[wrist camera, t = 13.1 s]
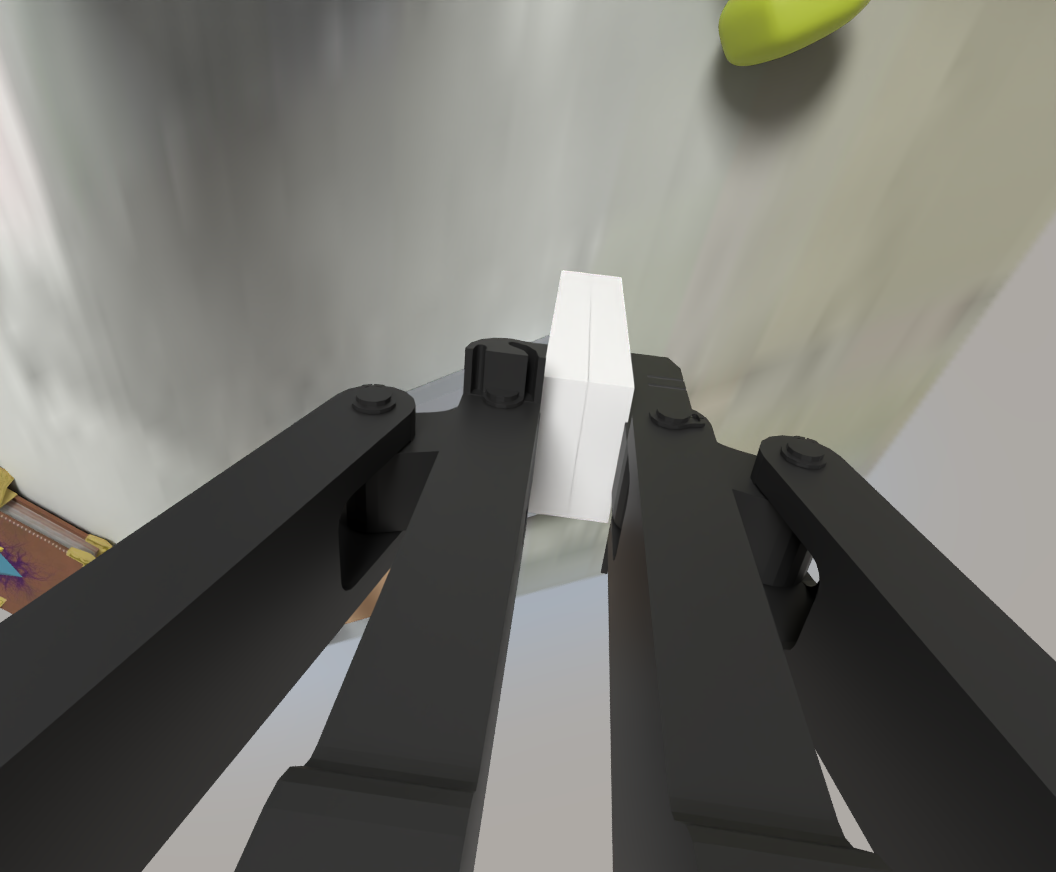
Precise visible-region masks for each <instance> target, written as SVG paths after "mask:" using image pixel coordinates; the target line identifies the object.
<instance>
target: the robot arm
mask: <svg viewBox="0 0 1056 872" xmlns="http://www.w3.org/2000/svg"><path fill="white" fill-rule="evenodd" d="M611 505H612V519H611V524H610V529H609V534H608V539H607V544H606V549H605V554H604V559H603V564H602V569H601V573H605V574H607V572H608V599H609V600H608V603H609V661H610V662H609V663H610V719H611V720H610V721H611V722H610V723H611V782H612V783H611V784H612V839H613V840H612V843H613V872H1056V661H1055V660H1054V659H1052V658H1051V657H1050V656H1049V655H1048V654H1047V653H1046V652H1045V651H1044V650H1043V649H1042V648H1041V647H1040V646H1039V645H1038V644H1037V643H1036V642H1035V641H1034V640H1032V639H1031V638H1030V637H1029V636H1028V635H1027V634H1026V633H1025V632H1024V631H1023V630H1022V629H1021V628H1020V627H1019V626H1018V625H1017V624H1016V623H1015V622H1013V620H1012V619H1011V618H1009V617H1008V616H1007V615H1006V614H1005V613H1004V612H1003V611H1002V610H1001V609H1000V608H999V607H998V606H997V605H996V604H994V602H993V601H991V600H990V599H989V597H987V596H986V595H985V594H984V593H983V592H982V591H981V590H980V589H979V588H978V587H977V586H976V585H975V584H974V583H973V582H972V581H971V580H969V578H967V577H966V576H965V575H964V574H963V573H962V572H961V571H960V570H959V569H958V568H957V567H956V566H955V565H954V564H953V563H952V562H951V561H950V560H949V559H948V558H946V557H945V556H944V555H943V554H942V553H941V552H940V551H939V550H938V549H937V548H936V547H935V546H934V545H933V544H932V543H931V542H930V541H929V540H928V539H927V538H925V536H924V535H922V534H921V533H920V532H919V531H918V530H917V529H916V528H915V527H914V526H913V525H912V524H911V523H910V522H909V521H908V520H907V519H906V518H905V517H904V516H903V515H901V514H900V513H899V512H898V511H897V510H896V509H895V508H894V507H893V506H892V505H891V504H890V503H889V502H888V501H887V500H886V499H885V498H884V497H883V496H882V495H880V494H879V493H878V492H877V491H876V490H875V489H874V488H873V487H872V486H871V485H870V484H869V483H868V482H867V481H866V480H865V479H864V478H863V477H862V476H861V475H860V474H858V473H857V472H856V471H855V470H854V469H853V468H852V467H851V466H850V465H849V464H848V463H847V462H846V461H845V460H844V459H843V458H842V457H841V456H839V455H838V454H836V453H835V452H834V451H832V450H831V449H829V448H827V447H825V446H823V445H821V444H818V442H817V441H815V440H812V439H809V438H807V439H805V437H800V436H794V437H792V436H783V435H782V436H772V437H768V438H767V439H765V440H763V441H762V442H761V445H760V448H759V451H758V454H757V456H756V455H753V454H749V453H746V452H742V451H739V450H735V449H733V448H730V447H727V446H724V445H722V444H720V443H718V442H717V441H716V438H715V435H714V432H713V429H712V425H711V424H710V422H709V421H708V420H707V418H706V417H704V416H703V415H701V414H700V413H698V412H697V411H695V410H692V408H691V405H690V401H689V397H688V394H687V391H686V387H685V383H684V381H683V376H682V373H681V369H680V368H679V367H678V366H677V365H676V364H675V363H673V362H672V361H671V360H670V359H669V358H666V357H658V356H650V355H642V354H635V353H630V345H629V337H628V328H627V320H626V312H625V303H624V295H623V286H622V278H621V277H614V276H606V275H598V274H589V273H581V272H573V271H565V270H562V272H561V277H560V283H559V288H558V294H557V299H556V305H555V310H554V316H553V321H552V327H551V332H550V337H549V343H548V344H541V343H533V342H525V341H520V340H515V339H508V338H489V339H481V340H478V341H475V342H472V343H470V344H469V345H468V346H467V347H466V348H465V366H464V385H463V395H462V397H461V400H460V402H459V405H458V407H457V408H455V409H450V410H446V411H439V412H422V413H416V405H415V401H414V398H413V397H412V396H410V395H409V394H408V393H407V392H405V391H402V390H399V389H397V388H393V387H387V386H384V385H379V384H374V386H372V384H369V385H362V386H360V387H356V388H351V389H348V390H345V391H343V392H341V393H339V394H337V395H336V396H334V397H333V398H331V399H330V400H328V401H327V402H325V403H324V404H322V405H321V406H319V407H318V408H316V409H315V410H314V411H312V412H311V413H309V414H308V415H306V416H305V417H303V418H302V419H300V420H299V421H297V422H296V423H294V424H293V425H291V426H290V427H288V428H287V429H285V430H284V431H283V432H281V433H280V434H278V435H277V436H275V437H274V438H272V439H271V440H269V441H268V442H266V443H265V444H263V445H262V446H260V447H259V448H257V449H256V450H255V451H253V452H252V453H250V454H249V455H247V456H246V457H244V458H243V459H241V460H240V461H238V462H237V463H235V464H234V465H232V466H231V467H229V468H228V469H226V470H225V471H224V472H222V473H221V474H219V475H218V476H216V477H215V478H213V479H212V480H210V481H209V482H207V483H206V484H204V485H203V486H201V487H200V488H198V489H197V490H196V491H194V492H193V493H191V494H190V495H188V496H187V497H185V498H184V499H182V500H181V501H179V502H178V503H176V504H175V505H173V506H172V507H170V508H169V509H167V510H166V511H165V512H163V513H162V514H160V515H159V516H157V517H156V518H154V519H153V520H151V521H150V522H148V523H147V524H145V525H144V526H142V527H141V528H139V529H138V530H136V531H135V532H134V533H132V534H131V535H129V536H128V537H126V538H125V539H123V540H122V541H120V542H119V543H117V544H116V545H114V546H113V547H111V548H110V549H108V550H107V551H106V552H104V553H103V554H101V555H100V556H98V557H97V558H95V559H94V560H92V561H91V562H89V563H88V564H86V565H85V566H83V567H82V568H80V569H79V570H77V571H76V572H75V573H73V574H72V575H70V576H69V577H67V578H66V579H64V580H63V581H61V582H60V583H58V584H57V585H55V586H54V587H52V588H51V589H49V590H48V591H47V592H45V593H44V594H42V595H41V596H39V597H38V598H36V599H35V600H33V601H32V602H30V603H29V604H27V605H26V606H24V607H23V608H21V609H20V610H18V611H17V612H16V613H14V614H13V615H11V616H10V617H8V618H7V619H5V620H4V621H2V622H1V623H0V872H142V870H143V869H144V868H145V867H146V865H147V864H148V863H149V862H150V861H151V859H152V858H153V857H154V856H155V854H156V853H157V852H158V851H159V850H160V848H161V847H162V846H163V844H164V843H165V842H166V841H167V840H168V839H169V837H170V836H171V835H172V834H173V832H174V831H175V830H176V829H177V827H178V826H179V825H180V824H181V823H182V822H183V820H184V819H185V818H186V817H187V815H188V814H189V813H190V812H191V811H192V809H193V808H194V807H195V806H196V804H197V803H198V802H199V801H200V799H201V798H202V797H203V796H204V795H205V793H206V792H207V791H208V790H209V789H210V787H211V786H212V785H213V784H214V783H215V781H216V780H217V779H218V778H219V776H220V775H221V774H222V773H223V772H224V770H225V769H226V768H227V767H228V765H229V764H230V763H231V762H232V761H233V759H234V758H235V757H236V756H237V754H238V753H239V752H240V751H241V750H242V748H243V747H244V746H245V745H246V744H247V742H248V741H249V740H250V739H251V737H252V736H253V735H254V734H255V732H256V731H257V730H258V729H259V728H260V726H261V725H262V724H263V723H264V721H265V720H266V719H267V718H268V717H269V716H270V714H271V713H272V712H273V711H274V709H275V708H276V707H277V706H278V705H279V703H280V702H281V701H282V700H283V698H284V697H285V696H286V695H287V693H288V692H289V691H290V690H291V689H292V687H293V686H294V685H295V684H296V683H297V681H298V680H299V679H300V678H301V676H302V675H303V674H304V673H305V672H306V670H307V669H308V668H309V667H310V666H311V664H312V663H313V662H314V660H315V659H316V658H317V657H318V656H319V655H320V653H321V652H322V651H323V650H324V649H325V647H326V646H327V645H328V644H329V642H330V641H331V640H332V639H333V638H334V636H335V635H336V634H337V633H338V631H339V630H340V629H341V628H342V627H343V625H344V624H345V623H346V622H347V620H348V619H349V618H350V617H351V616H352V614H353V613H354V612H355V611H356V610H357V608H358V607H359V606H360V605H361V603H362V602H363V601H364V600H365V599H366V597H367V596H368V595H369V594H370V592H371V591H372V590H373V589H374V588H375V586H376V585H377V584H378V583H379V581H380V580H381V579H382V578H383V577H384V575H385V574H386V573H387V572H388V571H389V569H390V571H389V573H388V575H387V578H386V580H385V583H384V585H383V588H382V590H381V592H380V595H379V597H378V600H377V602H376V604H375V607H374V609H373V612H372V614H371V616H370V619H369V621H368V624H367V626H366V628H365V631H364V633H363V636H362V638H361V640H360V643H359V645H358V648H357V650H356V653H355V655H354V657H353V660H352V662H351V664H350V667H349V669H348V672H347V674H346V677H345V679H344V681H343V684H342V686H341V689H340V692H339V693H338V696H337V698H336V701H335V703H334V706H333V708H332V710H331V713H330V715H329V717H328V720H327V722H326V725H325V727H324V730H323V732H322V734H321V737H320V739H319V742H318V744H317V746H316V748H315V750H314V752H313V754H312V756H311V758H310V760H309V761H308V762H307V763H306V764H305V765H304V766H295V767H294V766H293V767H289V769H288V770H287V771H286V772H285V773H284V774H283V775H282V776H281V777H280V779H279V780H278V781H277V783H276V785H275V787H274V789H273V791H272V792H271V794H270V796H269V798H268V800H267V802H266V804H265V805H264V807H263V809H262V812H261V814H260V816H259V818H258V820H257V823H256V825H255V827H254V829H253V831H252V834H251V836H250V838H249V840H248V843H247V845H246V847H245V849H244V851H243V854H242V856H241V858H240V860H239V862H238V864H237V867H236V869H235V871H234V872H473V870H474V864H475V858H476V851H477V844H478V837H479V831H480V825H481V818H482V811H483V805H484V798H485V792H486V785H487V778H488V772H489V766H490V759H491V753H492V747H493V739H494V734H495V727H496V721H497V714H498V708H499V701H500V694H501V688H502V681H503V675H504V668H505V662H506V655H507V649H508V642H509V635H510V629H511V622H512V616H513V610H514V603H515V597H516V590H517V584H518V577H519V571H520V564H521V558H522V551H523V545H524V538H525V531H526V524H527V516H528V512H529V513H536V514H544V515H551V516H559V517H566V518H573V519H581V520H588V521H596V522H603V523H608V520H609V515H610V510H611ZM812 558H814V560H815V562H816V564H817V568H818V571H819V582H818V583H816V582H815V581H814V580H813V579H812V577H811V576H810V575H809V573H808V572H807V570H808V568H809V565H810V563H811V560H812ZM815 750H816V751H817V753H818V755H819V756H820V758H821V760H822V762H823V763H824V765H825V767H826V769H827V770H828V772H829V774H830V776H831V778H832V779H833V781H834V783H835V785H836V786H837V788H838V790H839V792H840V793H841V795H842V797H843V799H844V800H845V802H846V804H847V806H848V807H849V809H850V811H851V813H852V815H853V816H854V818H855V820H856V822H857V823H858V825H859V827H860V829H861V830H862V832H863V834H864V836H865V837H866V839H867V841H868V843H869V844H870V846H871V848H872V850H873V851H874V853H872V852H868V851H864V850H860V849H857V848H853V846H852V845H851V844H850V843H849V842H848V841H847V839H846V838H845V836H844V834H843V832H842V829H841V827H840V825H839V823H838V820H837V817H836V813H835V810H834V807H833V804H832V801H831V798H830V795H829V791H828V788H827V786H826V782H825V779H824V776H823V773H822V770H821V766H820V763H819V760H818V757H817V754H816V751H815Z"/></svg>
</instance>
